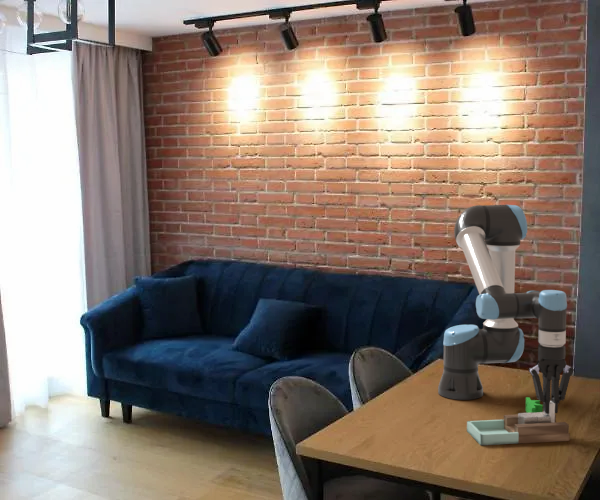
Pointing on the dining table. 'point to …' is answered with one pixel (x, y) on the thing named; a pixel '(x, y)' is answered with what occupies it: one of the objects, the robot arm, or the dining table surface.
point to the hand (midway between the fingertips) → (550, 423)
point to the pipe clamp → (533, 406)
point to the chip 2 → (543, 417)
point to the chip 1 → (527, 418)
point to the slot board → (538, 437)
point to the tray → (491, 432)
